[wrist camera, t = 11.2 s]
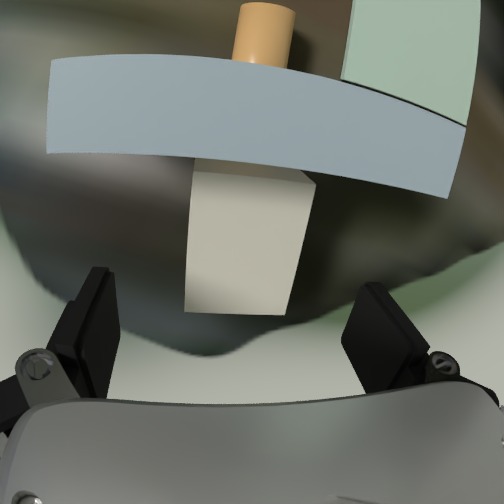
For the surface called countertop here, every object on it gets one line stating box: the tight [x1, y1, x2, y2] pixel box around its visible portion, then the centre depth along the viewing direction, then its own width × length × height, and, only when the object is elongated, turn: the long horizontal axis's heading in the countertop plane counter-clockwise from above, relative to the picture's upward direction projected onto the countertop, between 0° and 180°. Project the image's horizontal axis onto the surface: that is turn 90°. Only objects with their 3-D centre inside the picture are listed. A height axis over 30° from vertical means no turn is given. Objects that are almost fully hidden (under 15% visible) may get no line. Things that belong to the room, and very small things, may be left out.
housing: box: [47, 54, 466, 199], centre depth 11 cm, size 2×12×8 cm, turn 81°
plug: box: [184, 2, 316, 315], centre depth 13 cm, size 14×4×5 cm, turn 171°
